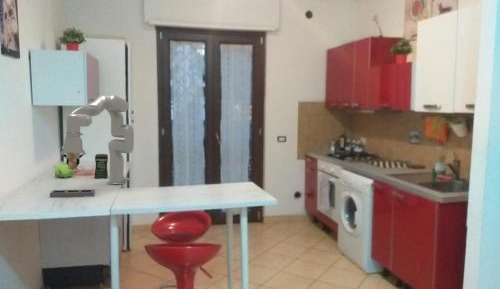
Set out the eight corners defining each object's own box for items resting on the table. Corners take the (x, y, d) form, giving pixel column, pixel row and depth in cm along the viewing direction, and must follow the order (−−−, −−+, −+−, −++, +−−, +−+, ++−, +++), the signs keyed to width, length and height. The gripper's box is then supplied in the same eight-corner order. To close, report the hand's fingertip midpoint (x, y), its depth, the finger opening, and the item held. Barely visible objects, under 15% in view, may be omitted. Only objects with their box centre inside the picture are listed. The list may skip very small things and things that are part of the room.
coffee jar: (93, 178, 303) (93, 154, 302) (95, 177, 311) (95, 153, 310) (107, 178, 305) (107, 154, 304) (108, 177, 313) (108, 153, 312)
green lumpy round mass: (71, 175, 316) (72, 161, 315) (77, 178, 305) (78, 163, 304) (51, 176, 306) (51, 162, 305) (56, 179, 295) (56, 164, 294)
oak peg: (77, 168, 244) (77, 152, 244) (76, 169, 240) (76, 152, 239) (69, 168, 243) (69, 152, 242) (68, 169, 239) (68, 152, 238)
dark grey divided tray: (94, 193, 251) (94, 189, 250) (93, 196, 242) (93, 192, 242) (52, 194, 244) (52, 190, 244) (49, 197, 235) (49, 193, 235)
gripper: (88, 135, 246) (88, 164, 247) (58, 134, 241) (58, 164, 243) (87, 135, 239) (87, 166, 240) (56, 135, 234) (56, 166, 235)
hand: (73, 165), depth 241 cm, fingers closed on oak peg, 4 cm apart
